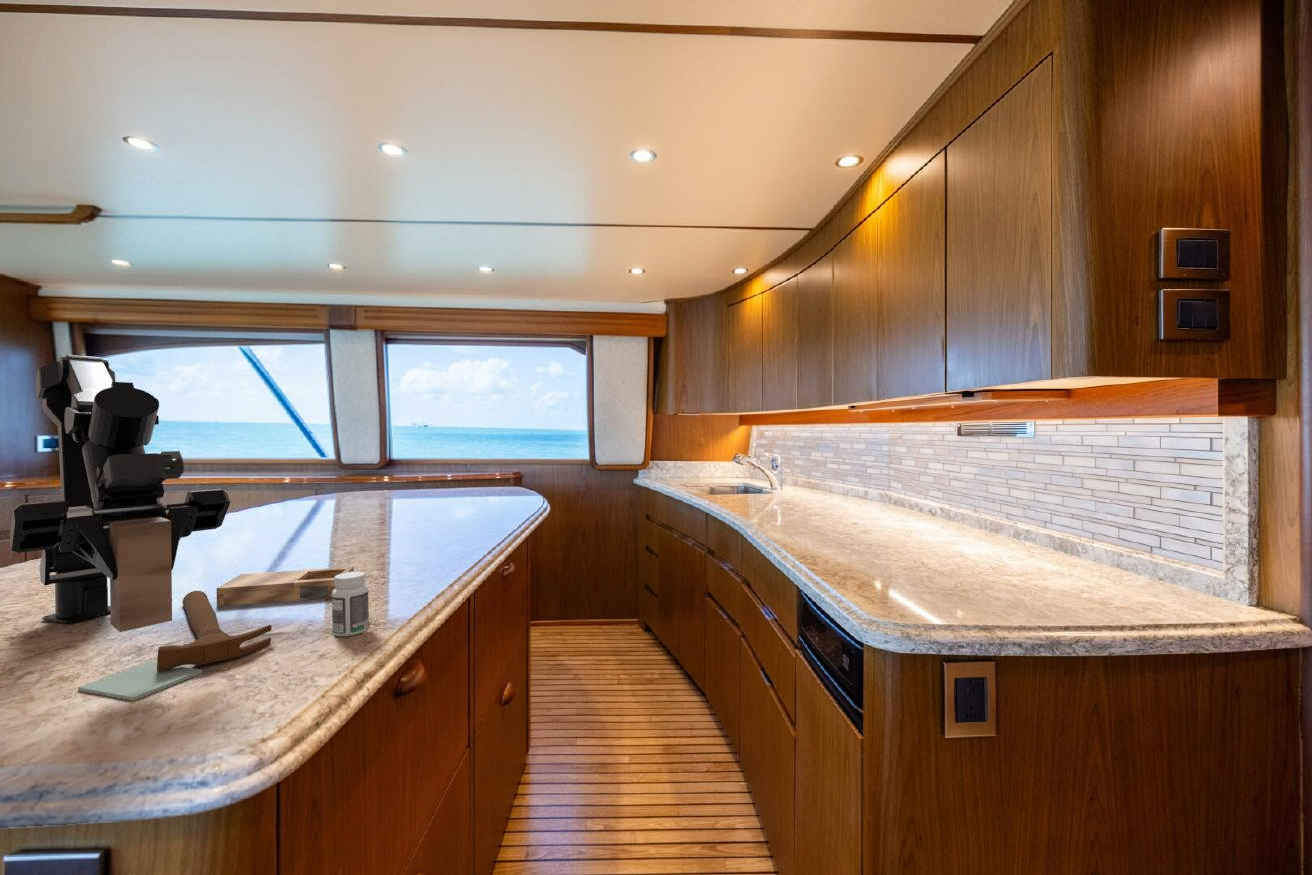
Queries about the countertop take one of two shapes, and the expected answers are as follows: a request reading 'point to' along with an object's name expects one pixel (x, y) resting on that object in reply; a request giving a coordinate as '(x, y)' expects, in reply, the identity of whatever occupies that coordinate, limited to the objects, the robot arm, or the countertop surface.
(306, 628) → the countertop surface
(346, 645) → the countertop surface
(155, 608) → the brown wooden block
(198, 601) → the hammer
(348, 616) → the pill bottle
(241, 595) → the slotted wooden slab
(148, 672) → the rubber mat
